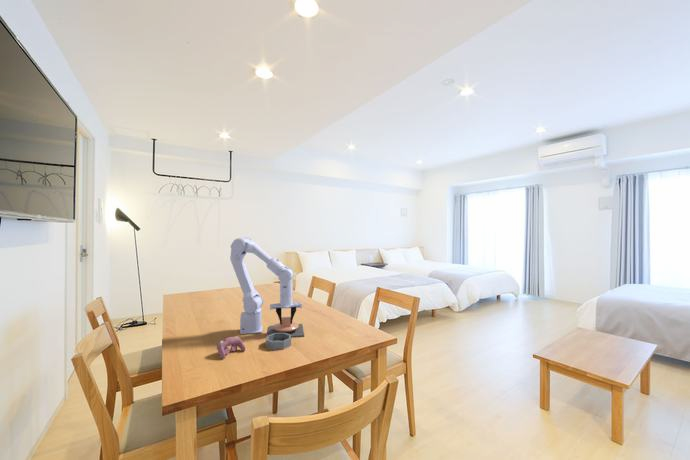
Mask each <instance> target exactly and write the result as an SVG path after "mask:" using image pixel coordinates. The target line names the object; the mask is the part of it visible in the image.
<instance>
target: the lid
mask: <svg viewBox="0 0 690 460" xmlns="http://www.w3.org/2000/svg"><path fill="white" fill-rule="evenodd" d="M281 317H282V316H281ZM298 324H299V323H297V322H293V321H292V324H291V316H283V317H282V325H280V322H279V323H275V324H273V325H272V326H273V329H274V330H275V331H278V332H289V331H294V330H296V329H298V328H299V325H298Z"/></svg>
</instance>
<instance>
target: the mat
mask: <svg viewBox="0 0 690 460" xmlns="http://www.w3.org/2000/svg"><path fill="white" fill-rule="evenodd" d="M297 324H298V325H299V328H298V329H296V330H294V331H289V332H278V331H275V330H274V329H273V326H274V325H268V332H267V336H268V335H271V334H273V333H287V334H290V335H291V338H302V337H303V338H304V337H305V333H304V327H303V326H304V325H303V323H297Z"/></svg>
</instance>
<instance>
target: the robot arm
mask: <svg viewBox="0 0 690 460" xmlns="http://www.w3.org/2000/svg"><path fill="white" fill-rule="evenodd" d="M230 250H231V251H230V262H231V264H232V267H233V270H234V273H235V276H236V279H237V281H238V283H239V284H238V285H239V286H240V289H241V291H242V294H243V296H242V302H243V306H242V307H243V310H244V311H243V312H241V313H240V322H239V324H240V325H239V329H240V330H239V331H240V332H239V334H241V335H244V334H245V335H246V334H247V335H248V334H259V333H263V328H264V326H263V325H262V316H263V315H262V314H263V313H262V306H263V305H264V299H263V297H262V296H261V295H260V294H259V292H258V291H257V290H256V289H255V286H254V283H253V282H252V278H251V276H250V274H249V271H248V269H247V266H246V263H245V260H244V258H245V256H246V254H247V253H249V254H253V255H255V257H258V258H259V259H260V260H261V261H263V262H264V263H266V267H267V269H268V270H270V271H271V272H272V274H274V275H276V276H277V278H278V280H279V302H278V303H270V305H269V309H270V310H275V312H276V315H277V317H278V319H279V323H280V325H282V310H283V309H290V318H291V324H292V322H293V319H294V316H295V314H296V312H297V309H298V308H299V309H302V308H303V304H302V302H293V288H294V287H293V286H294V285H293V278H294V275H295V274H294V271H293V270H292V268H290V267H288V266H287V265H284V263H282V262H281V260H280V259H279V258H276V257H271V256H270V255H269V254H268V253H267V252H265V251H264V249H262V247H260V246H259V245H258V244H257V243H256V242H255V241H254V240H252V239H251V238H250V237H241V238H240V237H239V238H236V239H234V240H233V241H232V243H231V244H230Z"/></svg>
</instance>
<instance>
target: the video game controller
mask: <svg viewBox="0 0 690 460" xmlns="http://www.w3.org/2000/svg"><path fill="white" fill-rule="evenodd" d="M229 346H230V348H229ZM238 348H239V349H240V350H241V351H243V352H245V351H246V346H245V344H244V342H243V340H242V339H241V338H240V337H239V336H230V337H226V338H225V339H222V340H221V341H218V342H217V345H216V350H217V352H218V354H219V356H220V358H221V359H222V360H224V359H226V355H228V354H229V353H230V352H236V351H237V349H238Z"/></svg>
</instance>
